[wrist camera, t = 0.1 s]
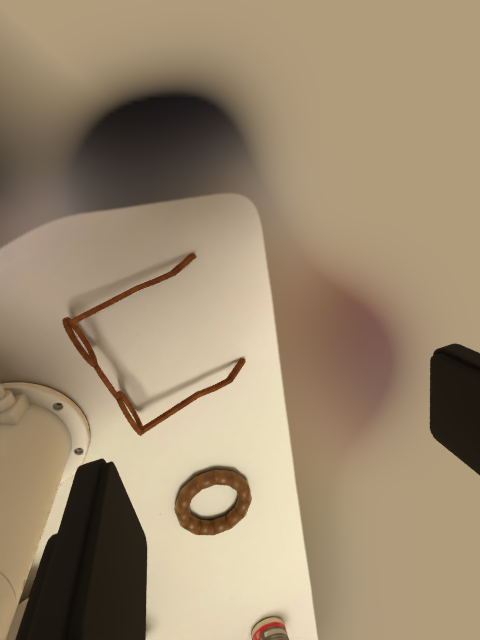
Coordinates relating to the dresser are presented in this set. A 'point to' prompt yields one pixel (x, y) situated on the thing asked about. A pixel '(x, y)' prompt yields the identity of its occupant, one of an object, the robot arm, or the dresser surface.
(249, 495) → the ring
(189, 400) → the glasses
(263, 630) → the pill bottle
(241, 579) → the dresser surface
